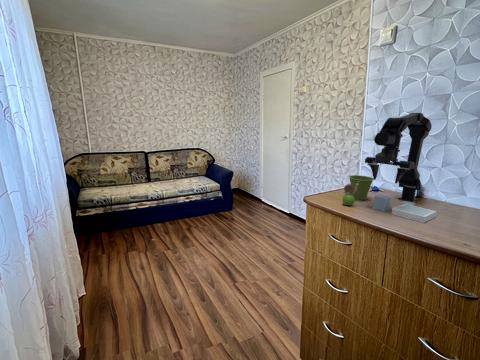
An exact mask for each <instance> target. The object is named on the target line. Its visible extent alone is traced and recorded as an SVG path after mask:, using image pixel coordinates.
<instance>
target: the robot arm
mask: <svg viewBox="0 0 480 360" xmlns="http://www.w3.org/2000/svg"><path fill="white" fill-rule="evenodd" d="M406 129H408V130H409V132H408V135H409V137H410V139H411V142H410V146H409V150H408V151H409V152H408V156H407V160H399V158H398V155H399V153H400V152H401V150H400V146H401V141H402V140H401V139H402V138H403V136H404V135H403V134H402V133H403V132H404V131H405V130H406ZM430 131H432V123H431V119H429V118H428V117H425V116H424V113H422V112H411V113H409V114H406V115H403V116H400V117H389V118H387V119H386V121H384V123H383V125H382V127H381V129H380V131H379V132H378V133H376V135H375V136H374V139H373V141H374V144H375V145H377V146H381V147H382V149H381V151H380V152H378V153H376V154H375V156H374V157H373V156H366V157H365V160H364V163H365V164H366V165H367V166H369V167H370V169H371V172H372V178H374V180H373V181H376V179H377V178H378V173H379V168H380V164H381V165H391V166H398V167H397V169H396V170H397V172H396V176H395V180H394V184H395V185H396V184H398V188H402V190H401V196H400V197H398V199H399V200H403V201H407V202H416V201H418V198H415V197H416V191H420V190H421V189H422V186H423V185H422V181H421V178H420V177H421V175H420V172H419V170H418V167H419V162H420V157H421V152H422V149H423V148H422V147H423V143H424V140H425V139H427V137H428V136H429V135H430Z"/></svg>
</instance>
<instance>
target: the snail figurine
mask: <svg viewBox="0 0 480 360" xmlns="http://www.w3.org/2000/svg"><path fill="white" fill-rule="evenodd" d="M358 186H359V181H358V184H356V185H355V189H354V186H353V185H351V184H350V183H348V184H346V185H344V187H343V190H344V191H343V193H344V195H343V196H342V203H343V204H344V205H345V206H352V205H354V203H355V201H356V199H355V198H354V196H353V195H352V194H354V193H355V192H356V191H357V188H358Z"/></svg>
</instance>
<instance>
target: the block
mask: <svg viewBox="0 0 480 360" xmlns="http://www.w3.org/2000/svg"><path fill="white" fill-rule="evenodd" d="M373 197H374V198H373V202H372V203H373V205H372V209H374V210H377V211H378V210H379V211H381V212H386V211H389V210H390V209H391V208H390V207H391V202H392V196H390V195H389V196H388V195H385V194H376V195H374V196H373Z"/></svg>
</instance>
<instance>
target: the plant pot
mask: <svg viewBox="0 0 480 360" xmlns="http://www.w3.org/2000/svg"><path fill="white" fill-rule="evenodd" d="M348 178H349V182H350V183H349V184H351V185H353V186H354V189H355V185H356V184H358V181H359V186H358V188H357V191H356V192H355V193H354V194H352V195H353V196H354V198H355V201H356V200H358V201H359V200H362V201H365V200H366V199H367V197H368V194H369V191H370V188H371V185H372V184H373V181H375V180H374V178H373V176H372V177H371V176H367V175H359V174H356V175H354V174H352V175H348Z"/></svg>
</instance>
